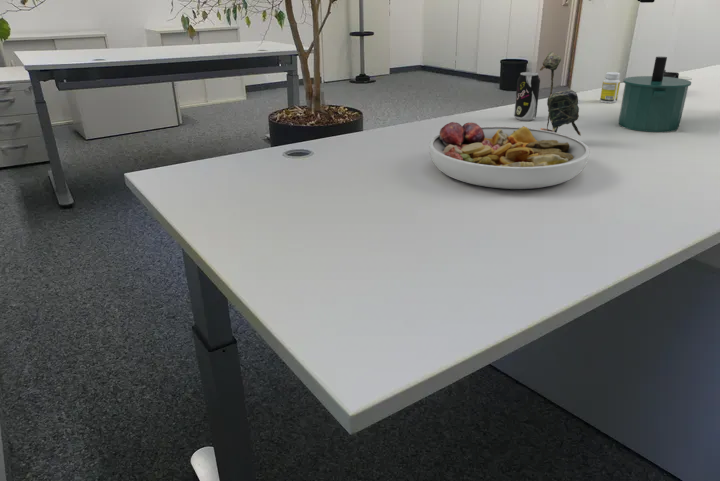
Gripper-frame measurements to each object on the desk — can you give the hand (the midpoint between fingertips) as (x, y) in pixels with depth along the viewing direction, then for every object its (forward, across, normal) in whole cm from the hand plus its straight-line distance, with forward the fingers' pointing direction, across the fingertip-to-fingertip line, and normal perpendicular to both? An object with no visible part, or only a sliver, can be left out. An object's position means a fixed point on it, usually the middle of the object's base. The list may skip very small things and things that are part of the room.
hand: (645, 1), depth 138 cm
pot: (+28, -11, -5) cm, 31 cm away
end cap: (+28, +36, -12) cm, 47 cm away
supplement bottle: (+29, +18, +4) cm, 34 cm away
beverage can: (+29, -12, +25) cm, 40 cm away
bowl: (+29, -58, +24) cm, 69 cm away
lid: (+18, -11, -5) cm, 22 cm away
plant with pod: (+29, -35, +16) cm, 48 cm away
